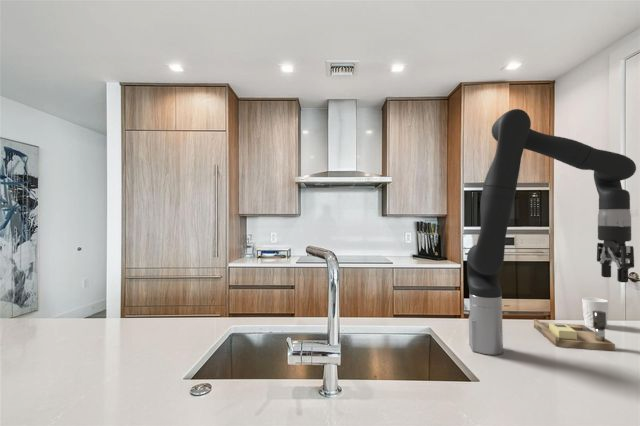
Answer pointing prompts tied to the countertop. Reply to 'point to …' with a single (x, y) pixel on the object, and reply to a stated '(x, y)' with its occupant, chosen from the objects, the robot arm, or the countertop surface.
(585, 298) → the white cup
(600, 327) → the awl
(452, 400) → the countertop surface
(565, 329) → the stud finder
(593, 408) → the countertop surface
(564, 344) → the board
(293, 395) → the countertop surface
